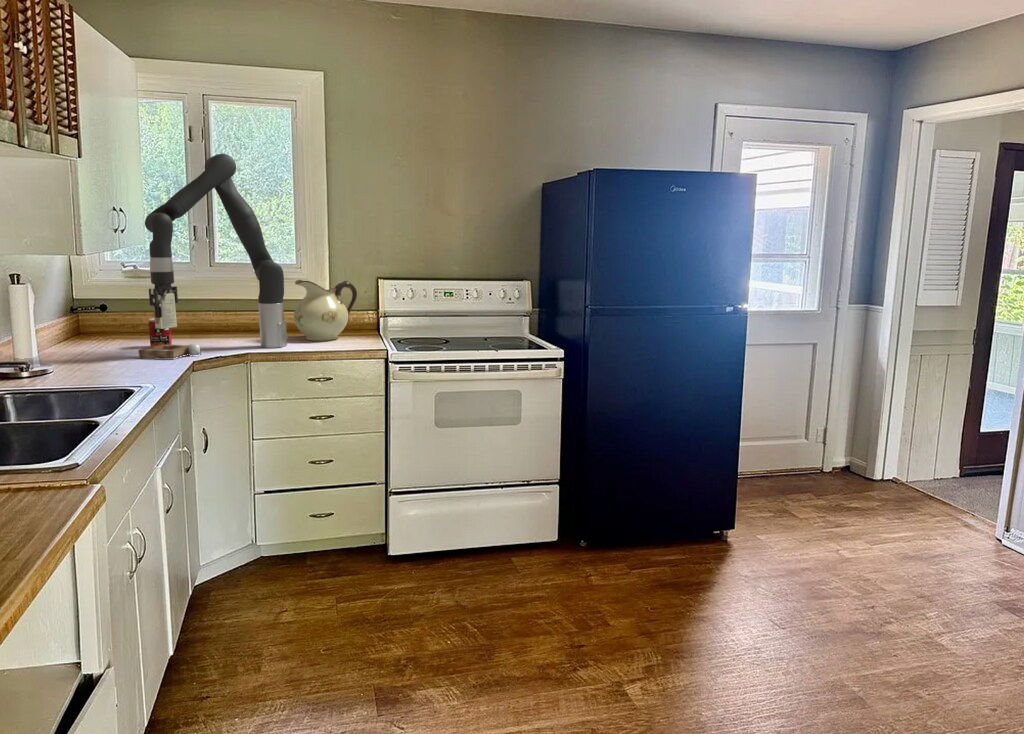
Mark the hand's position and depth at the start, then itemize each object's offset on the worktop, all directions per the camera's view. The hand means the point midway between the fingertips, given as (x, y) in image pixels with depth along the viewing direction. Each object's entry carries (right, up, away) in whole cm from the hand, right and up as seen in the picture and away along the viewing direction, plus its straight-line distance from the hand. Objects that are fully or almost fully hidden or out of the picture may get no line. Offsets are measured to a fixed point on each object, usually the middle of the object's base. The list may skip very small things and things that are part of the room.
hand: (165, 316), depth 269 cm
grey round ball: (+9, -14, +4) cm, 17 cm away
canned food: (-13, -10, +24) cm, 29 cm away
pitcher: (+44, -6, +50) cm, 67 cm away
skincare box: (0, -4, +1) cm, 4 cm away
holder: (0, -14, +2) cm, 14 cm away
